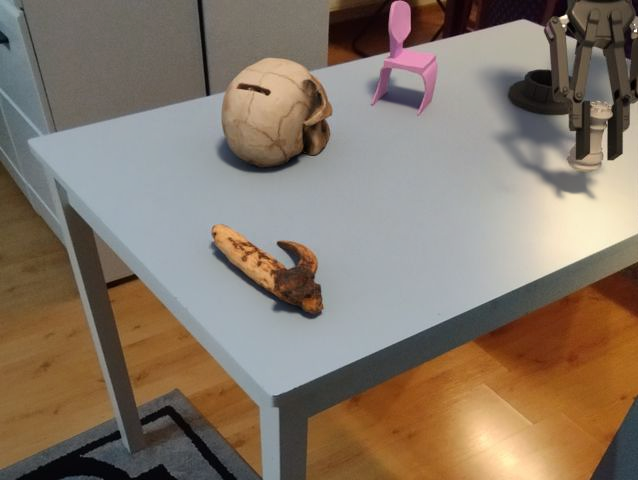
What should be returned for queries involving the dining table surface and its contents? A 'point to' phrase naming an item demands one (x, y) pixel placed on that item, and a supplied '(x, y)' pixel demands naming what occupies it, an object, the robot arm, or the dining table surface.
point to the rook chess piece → (593, 139)
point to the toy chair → (406, 55)
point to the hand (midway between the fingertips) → (598, 156)
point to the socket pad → (534, 104)
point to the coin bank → (275, 113)
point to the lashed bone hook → (274, 268)
